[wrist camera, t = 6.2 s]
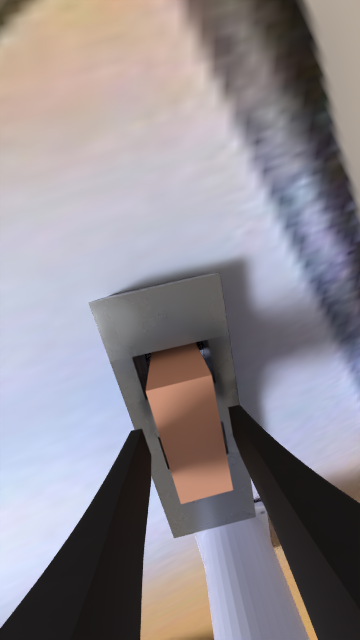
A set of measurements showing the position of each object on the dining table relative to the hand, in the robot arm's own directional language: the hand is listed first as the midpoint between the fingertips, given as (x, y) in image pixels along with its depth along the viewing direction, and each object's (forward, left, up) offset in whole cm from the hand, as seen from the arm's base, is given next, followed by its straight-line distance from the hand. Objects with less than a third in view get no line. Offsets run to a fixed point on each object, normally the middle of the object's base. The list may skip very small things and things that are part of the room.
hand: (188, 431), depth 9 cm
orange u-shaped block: (0, 0, -4) cm, 5 cm away
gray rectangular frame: (-2, 0, -4) cm, 5 cm away
